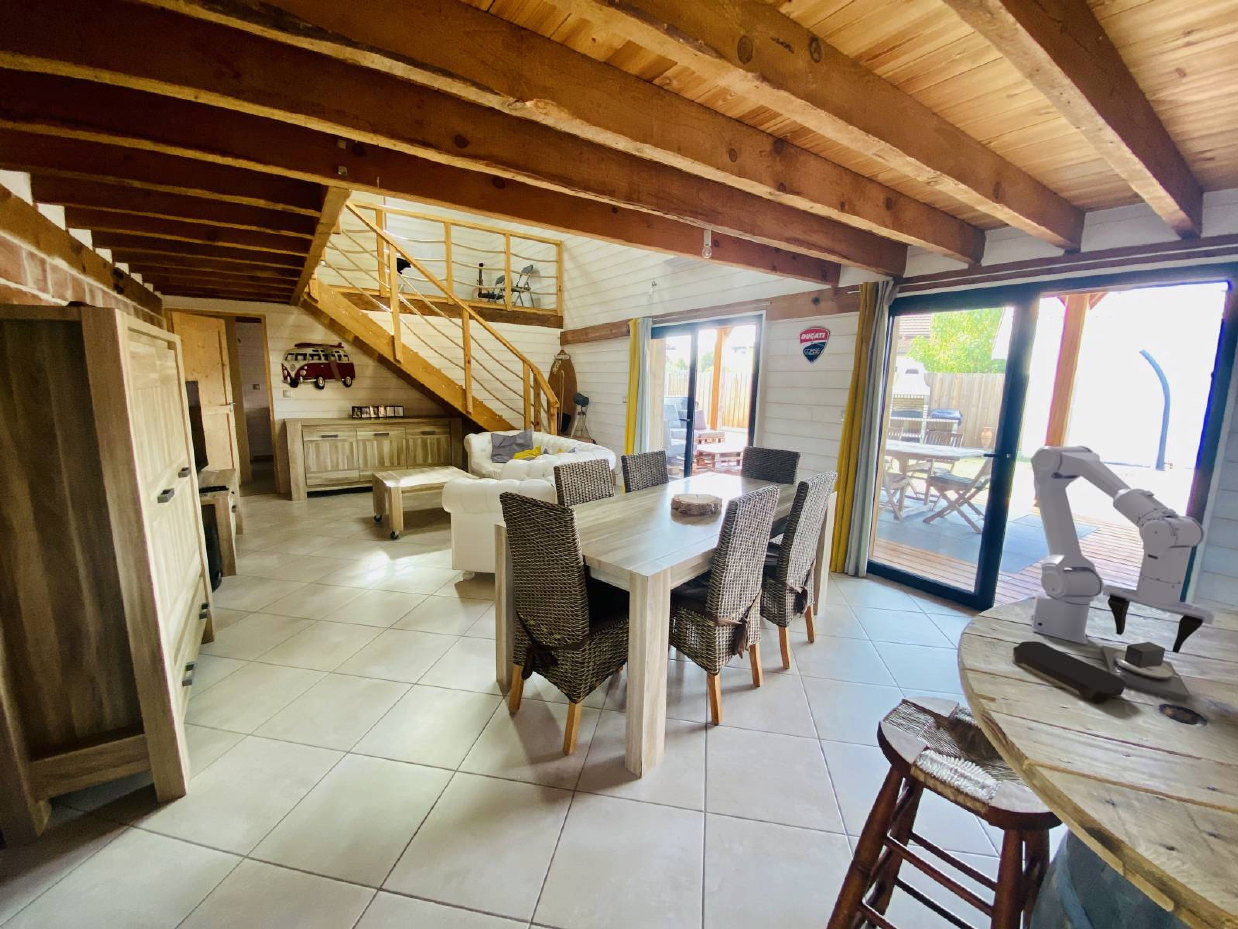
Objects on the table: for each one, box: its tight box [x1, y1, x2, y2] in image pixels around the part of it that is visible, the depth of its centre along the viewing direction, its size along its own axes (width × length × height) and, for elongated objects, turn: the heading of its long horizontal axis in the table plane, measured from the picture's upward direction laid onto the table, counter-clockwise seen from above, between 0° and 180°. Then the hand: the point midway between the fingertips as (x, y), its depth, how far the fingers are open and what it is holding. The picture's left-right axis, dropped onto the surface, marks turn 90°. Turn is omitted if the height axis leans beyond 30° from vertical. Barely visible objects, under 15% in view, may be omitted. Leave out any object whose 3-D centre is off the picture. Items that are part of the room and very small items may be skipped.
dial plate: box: [1100, 644, 1190, 704], centre depth 96 cm, size 10×14×2 cm
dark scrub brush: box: [1011, 640, 1126, 704], centre depth 95 cm, size 16×8×4 cm, turn 18°
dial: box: [1114, 641, 1173, 679], centre depth 96 cm, size 8×8×4 cm
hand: (1146, 641), depth 95 cm, fingers open, 7 cm apart
